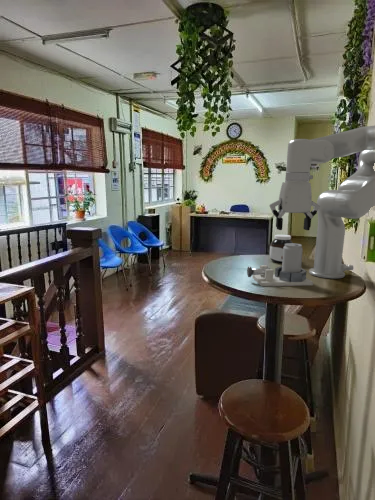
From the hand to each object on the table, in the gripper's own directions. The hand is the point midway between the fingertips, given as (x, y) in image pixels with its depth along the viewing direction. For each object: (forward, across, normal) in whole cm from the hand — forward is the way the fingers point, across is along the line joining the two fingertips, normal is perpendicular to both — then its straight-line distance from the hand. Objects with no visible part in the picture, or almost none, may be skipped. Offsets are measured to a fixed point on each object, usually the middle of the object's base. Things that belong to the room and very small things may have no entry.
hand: (292, 229), depth 117 cm
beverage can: (+17, -1, 0) cm, 17 cm away
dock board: (+18, +2, 0) cm, 18 cm away
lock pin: (+16, +11, 0) cm, 20 cm away
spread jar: (+18, -11, -31) cm, 38 cm away
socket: (+17, -1, 0) cm, 17 cm away
